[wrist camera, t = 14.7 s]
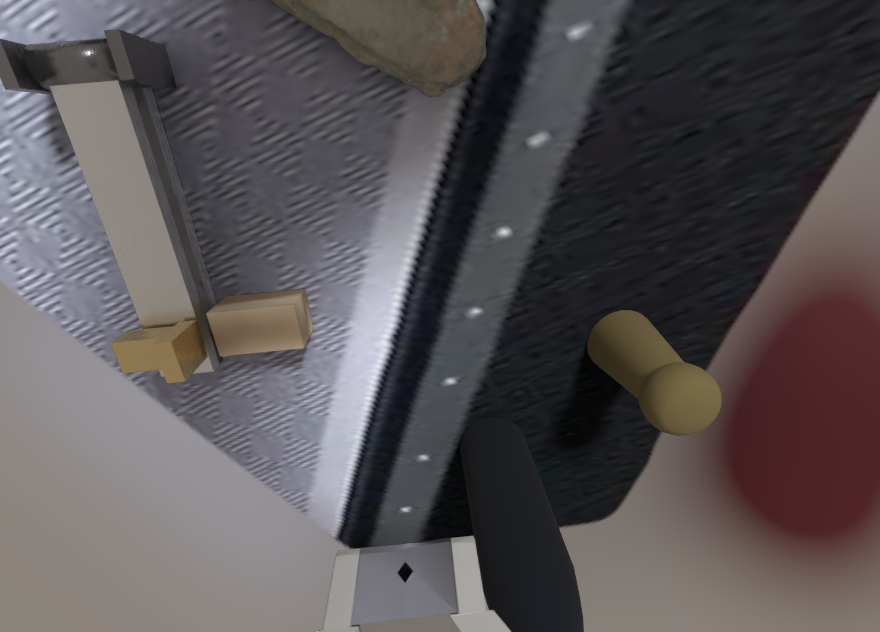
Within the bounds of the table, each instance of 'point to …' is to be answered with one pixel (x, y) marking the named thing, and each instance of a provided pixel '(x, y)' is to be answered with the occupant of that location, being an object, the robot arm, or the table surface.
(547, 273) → the table surface
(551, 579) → the wine bottle
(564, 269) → the table surface
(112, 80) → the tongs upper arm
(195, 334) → the tan l-shaped block
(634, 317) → the cork
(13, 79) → the base
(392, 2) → the elongated rock
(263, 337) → the tan wooden block
